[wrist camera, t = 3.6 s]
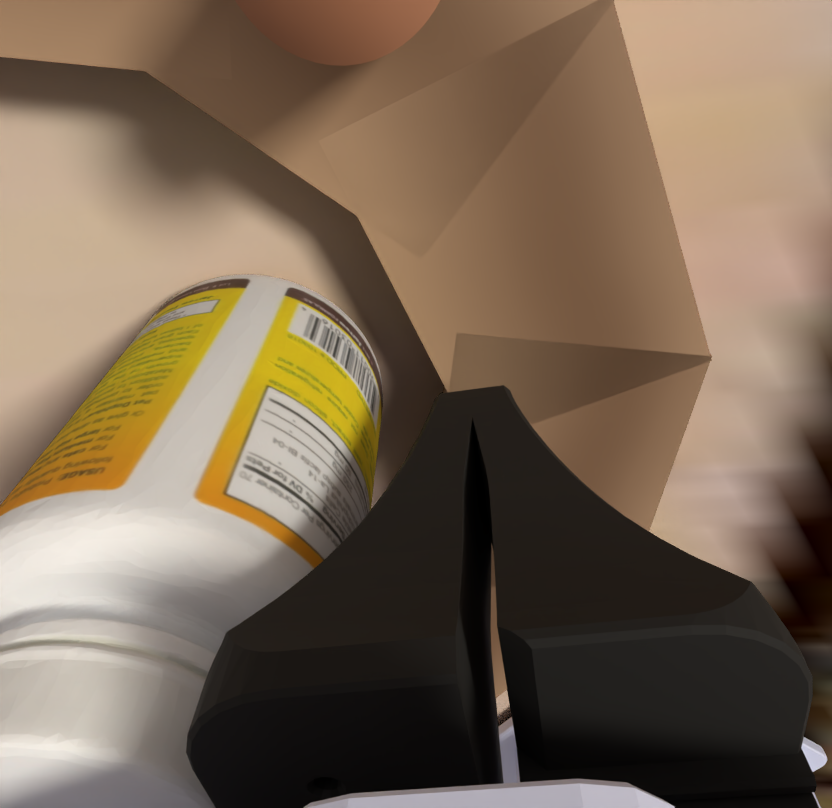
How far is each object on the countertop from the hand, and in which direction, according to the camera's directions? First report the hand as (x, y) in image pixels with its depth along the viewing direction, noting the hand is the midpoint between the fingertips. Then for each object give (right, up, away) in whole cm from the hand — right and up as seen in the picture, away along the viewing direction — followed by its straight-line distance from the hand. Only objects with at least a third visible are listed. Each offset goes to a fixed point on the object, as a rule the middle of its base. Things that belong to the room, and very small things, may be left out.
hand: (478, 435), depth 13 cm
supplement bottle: (-5, +1, +4) cm, 6 cm away
